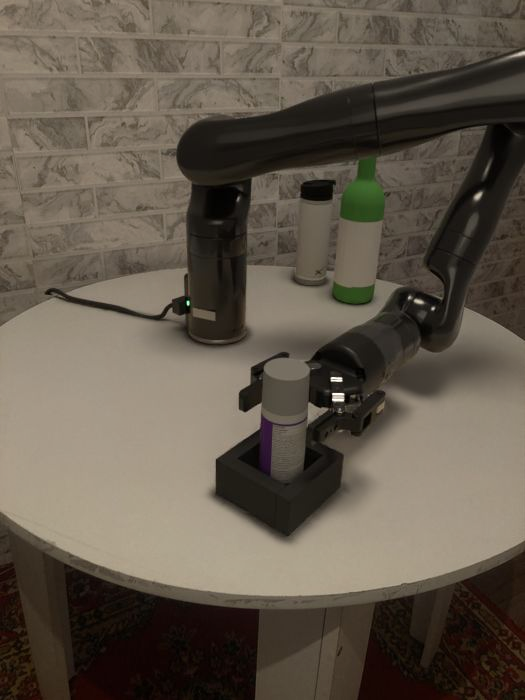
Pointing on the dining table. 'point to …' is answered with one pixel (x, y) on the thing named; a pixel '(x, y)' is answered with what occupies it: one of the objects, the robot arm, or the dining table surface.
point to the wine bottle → (359, 236)
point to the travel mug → (314, 231)
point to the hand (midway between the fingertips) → (273, 419)
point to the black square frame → (278, 483)
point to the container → (284, 418)
